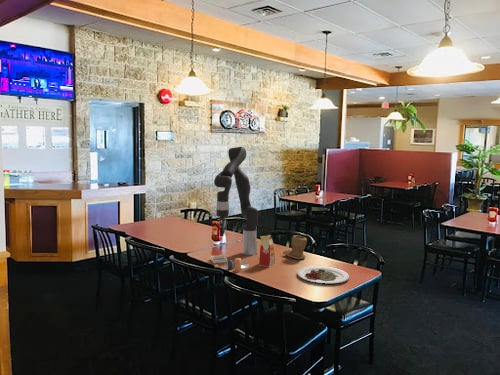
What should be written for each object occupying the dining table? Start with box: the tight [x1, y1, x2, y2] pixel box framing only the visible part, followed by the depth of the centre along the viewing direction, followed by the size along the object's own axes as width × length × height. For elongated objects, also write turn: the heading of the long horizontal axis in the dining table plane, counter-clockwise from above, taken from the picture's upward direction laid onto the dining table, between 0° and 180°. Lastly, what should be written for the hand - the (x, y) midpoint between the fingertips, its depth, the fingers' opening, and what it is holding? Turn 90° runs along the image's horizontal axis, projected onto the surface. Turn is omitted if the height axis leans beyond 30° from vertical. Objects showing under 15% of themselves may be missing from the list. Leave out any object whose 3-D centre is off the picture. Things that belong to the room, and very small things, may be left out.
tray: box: [210, 254, 228, 264], centre depth 266 cm, size 9×9×2 cm
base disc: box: [213, 261, 250, 270], centre depth 256 cm, size 22×16×2 cm
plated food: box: [296, 265, 350, 285], centre depth 240 cm, size 30×30×3 cm
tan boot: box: [282, 234, 308, 260], centre depth 278 cm, size 15×12×15 cm
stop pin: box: [233, 257, 242, 273], centre depth 246 cm, size 4×4×8 cm
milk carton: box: [258, 234, 277, 269], centre depth 259 cm, size 9×9×20 cm
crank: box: [227, 259, 235, 271], centre depth 253 cm, size 13×4×5 cm, turn 155°
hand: (222, 234), depth 251 cm, fingers open, 8 cm apart
